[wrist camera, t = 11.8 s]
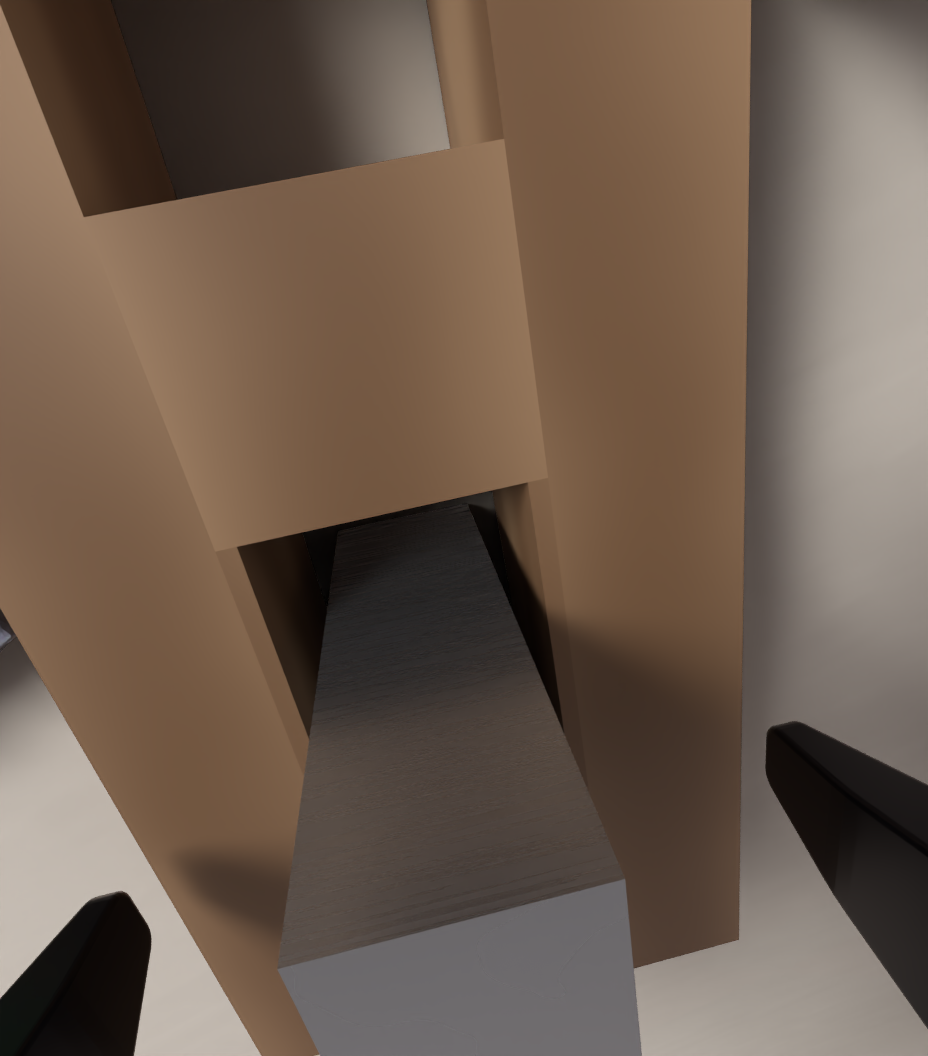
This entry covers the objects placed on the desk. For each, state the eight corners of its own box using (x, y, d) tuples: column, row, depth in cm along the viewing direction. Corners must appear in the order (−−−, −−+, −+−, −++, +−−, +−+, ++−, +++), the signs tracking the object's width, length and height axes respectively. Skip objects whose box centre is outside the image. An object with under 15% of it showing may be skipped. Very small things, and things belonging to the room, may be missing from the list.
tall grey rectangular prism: (467, 503, 11) (624, 879, 4) (512, 747, 13) (659, 1242, 6) (338, 530, 11) (276, 969, 4) (407, 772, 13) (445, 1305, 6)
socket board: (581, -390, 7) (763, -978, 4) (658, 794, 14) (738, 939, 11) (-233, -280, 6) (-852, -853, 3) (292, 887, 14) (268, 1068, 11)
